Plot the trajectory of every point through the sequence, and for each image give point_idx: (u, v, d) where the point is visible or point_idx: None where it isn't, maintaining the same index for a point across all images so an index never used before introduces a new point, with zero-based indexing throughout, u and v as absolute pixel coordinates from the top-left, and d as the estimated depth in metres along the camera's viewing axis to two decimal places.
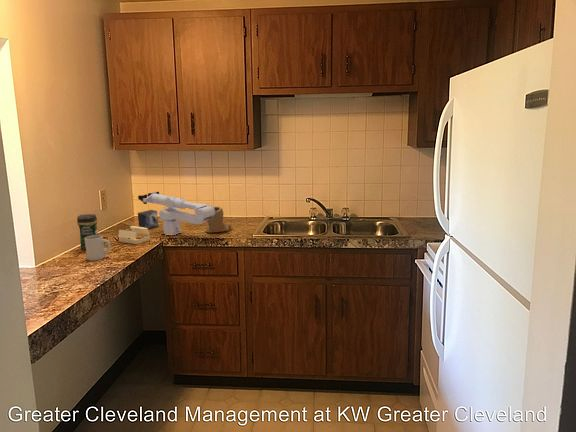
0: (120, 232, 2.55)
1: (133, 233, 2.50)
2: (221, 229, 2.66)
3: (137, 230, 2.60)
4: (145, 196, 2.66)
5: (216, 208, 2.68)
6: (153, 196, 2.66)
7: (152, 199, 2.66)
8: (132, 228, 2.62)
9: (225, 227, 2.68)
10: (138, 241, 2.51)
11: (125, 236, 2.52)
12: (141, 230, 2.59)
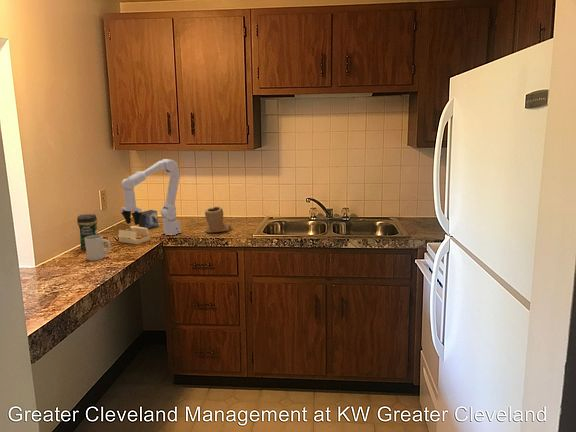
0: (120, 232, 2.55)
1: (133, 233, 2.50)
2: (221, 229, 2.66)
3: (137, 230, 2.60)
4: (134, 213, 2.50)
5: (216, 208, 2.68)
6: (130, 206, 2.50)
7: (134, 206, 2.52)
8: (132, 228, 2.62)
9: (225, 227, 2.68)
10: (138, 241, 2.51)
11: (125, 236, 2.52)
12: (141, 230, 2.59)
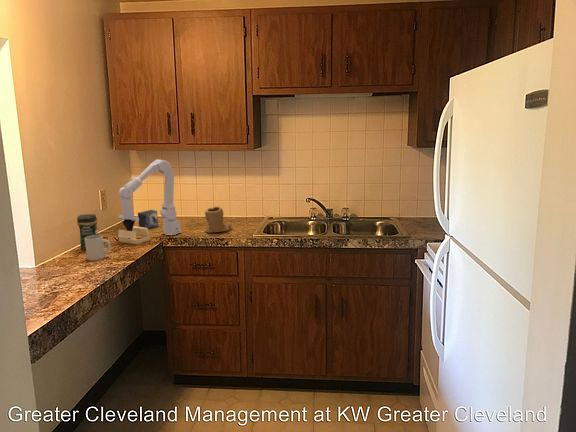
0: (120, 232, 2.55)
1: (133, 233, 2.50)
2: (221, 229, 2.66)
3: (137, 230, 2.60)
4: (128, 221, 2.50)
5: (216, 208, 2.68)
6: (128, 215, 2.49)
7: (131, 215, 2.51)
8: None
9: (225, 227, 2.68)
10: (138, 241, 2.51)
11: (125, 236, 2.52)
12: (141, 230, 2.59)
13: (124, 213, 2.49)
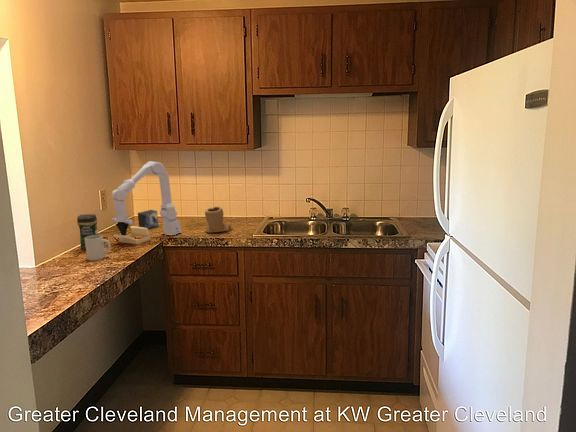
0: (116, 236, 2.53)
1: (129, 238, 2.47)
2: (221, 229, 2.66)
3: (137, 230, 2.60)
4: (121, 223, 2.47)
5: (216, 208, 2.68)
6: (121, 217, 2.46)
7: (125, 217, 2.47)
8: (132, 228, 2.62)
9: (225, 227, 2.68)
10: (138, 241, 2.51)
11: (124, 238, 2.52)
12: (141, 230, 2.59)
13: (117, 216, 2.45)
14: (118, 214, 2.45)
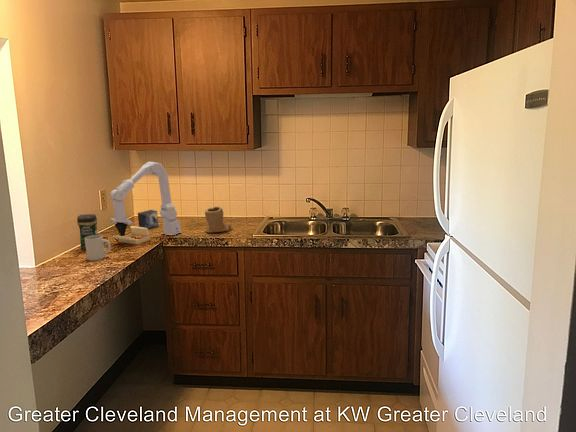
0: (116, 237, 2.53)
1: (129, 239, 2.47)
2: (221, 229, 2.66)
3: (137, 230, 2.60)
4: (120, 224, 2.46)
5: (216, 208, 2.68)
6: (120, 218, 2.45)
7: (123, 218, 2.46)
8: (132, 228, 2.62)
9: (225, 227, 2.68)
10: (138, 241, 2.51)
11: None
12: (141, 230, 2.59)
13: (116, 216, 2.45)
14: (117, 214, 2.44)
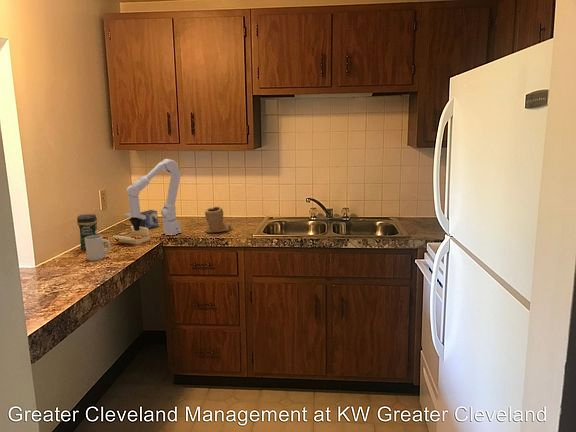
0: (116, 237, 2.53)
1: (129, 239, 2.47)
2: (221, 229, 2.66)
3: None
4: (135, 219, 2.55)
5: (216, 208, 2.68)
6: (135, 213, 2.54)
7: (138, 213, 2.55)
8: (132, 228, 2.62)
9: (225, 227, 2.68)
10: (138, 241, 2.51)
11: None
12: (141, 230, 2.59)
13: (131, 211, 2.53)
14: (132, 209, 2.53)
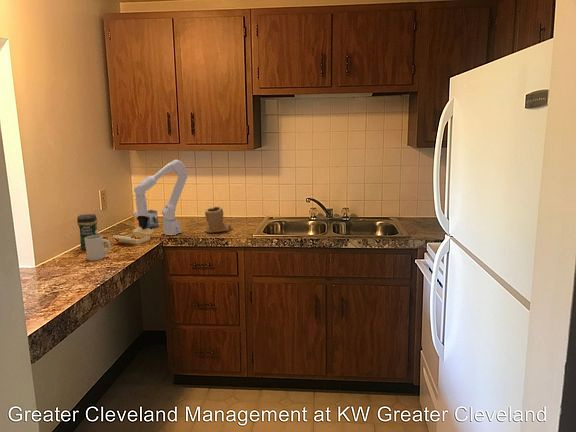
0: (116, 237, 2.53)
1: (129, 239, 2.47)
2: (221, 229, 2.66)
3: (141, 229, 2.63)
4: (142, 217, 2.59)
5: (216, 208, 2.68)
6: (142, 211, 2.58)
7: (145, 211, 2.59)
8: (138, 228, 2.65)
9: (225, 227, 2.68)
10: (138, 241, 2.51)
11: None
12: (146, 229, 2.62)
13: (139, 210, 2.58)
14: (139, 208, 2.57)
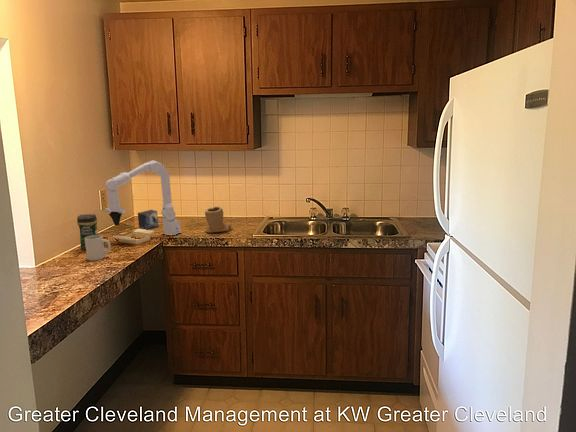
0: (116, 237, 2.53)
1: (129, 239, 2.47)
2: (221, 229, 2.66)
3: (142, 230, 2.64)
4: (114, 213, 2.51)
5: (216, 208, 2.68)
6: (114, 207, 2.50)
7: (118, 207, 2.51)
8: (139, 229, 2.66)
9: (225, 227, 2.68)
10: (138, 241, 2.51)
11: None
12: (146, 230, 2.62)
13: (111, 205, 2.49)
14: (111, 204, 2.49)
